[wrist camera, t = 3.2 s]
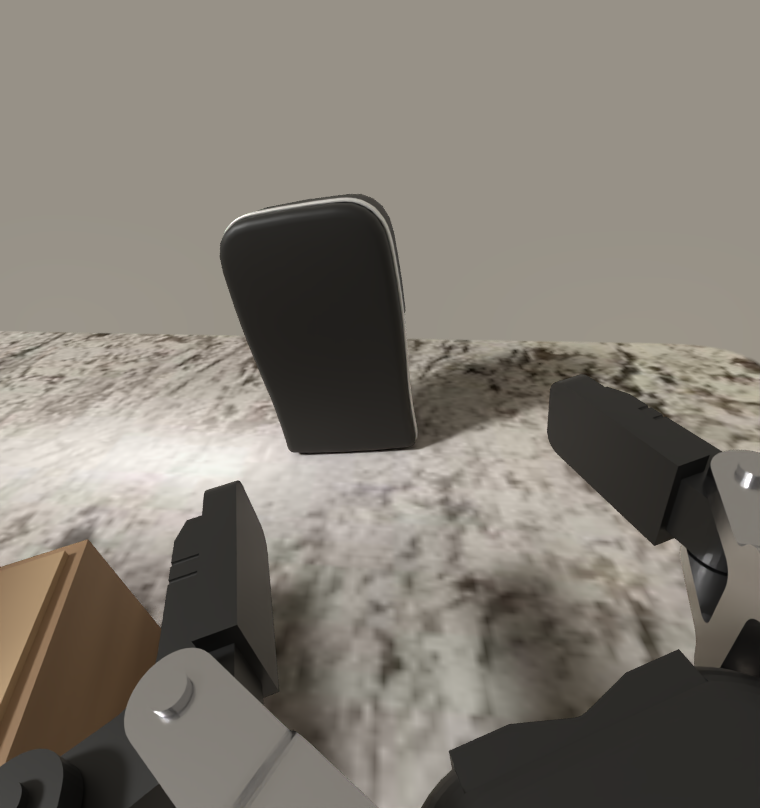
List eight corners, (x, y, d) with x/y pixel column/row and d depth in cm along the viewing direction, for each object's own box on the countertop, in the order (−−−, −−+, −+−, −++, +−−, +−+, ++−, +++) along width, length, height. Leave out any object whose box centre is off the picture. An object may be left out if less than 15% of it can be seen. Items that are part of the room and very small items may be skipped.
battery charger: (423, 407, 24) (394, 178, 18) (420, 452, 21) (384, 194, 14) (304, 415, 25) (237, 204, 19) (285, 458, 22) (197, 224, 16)
